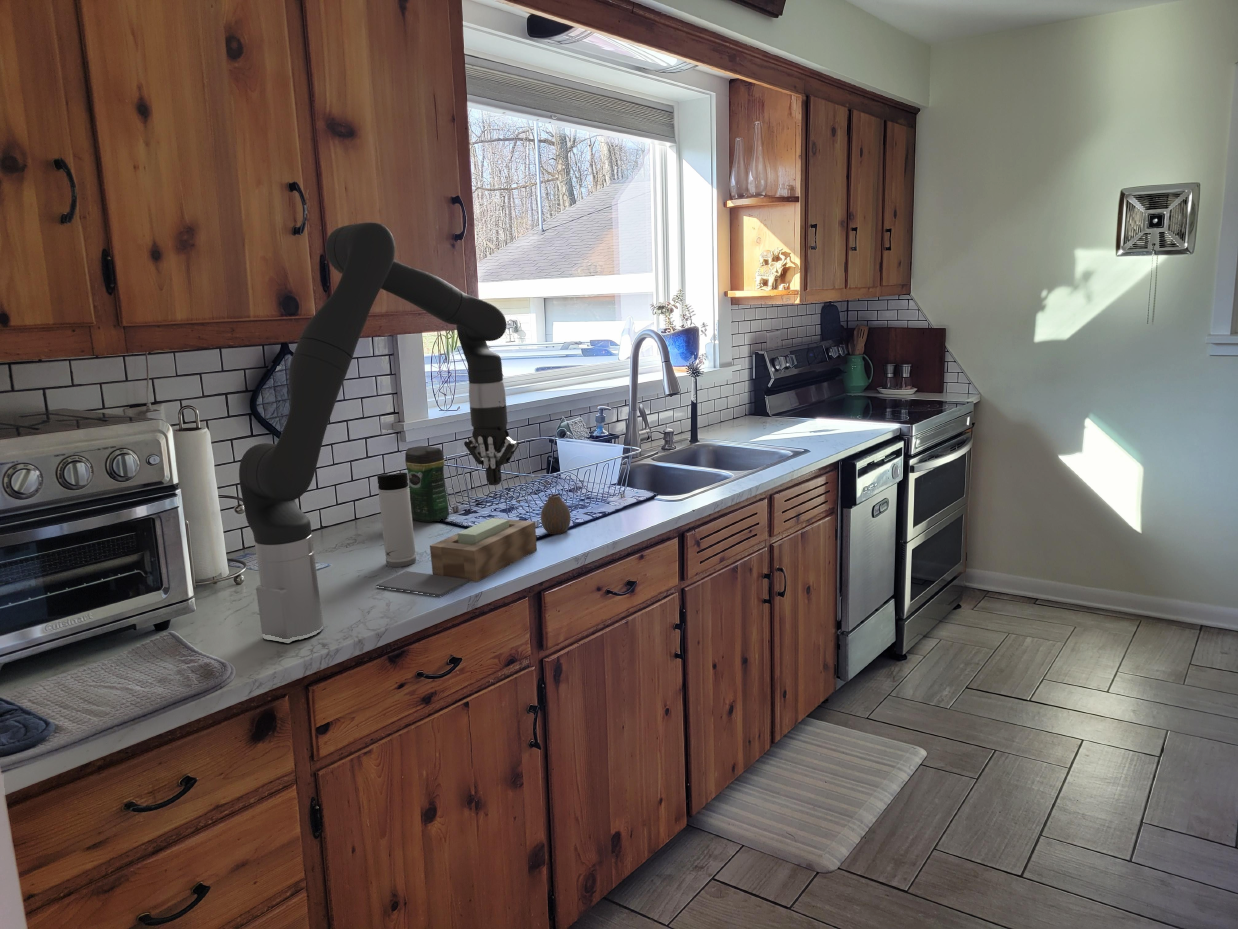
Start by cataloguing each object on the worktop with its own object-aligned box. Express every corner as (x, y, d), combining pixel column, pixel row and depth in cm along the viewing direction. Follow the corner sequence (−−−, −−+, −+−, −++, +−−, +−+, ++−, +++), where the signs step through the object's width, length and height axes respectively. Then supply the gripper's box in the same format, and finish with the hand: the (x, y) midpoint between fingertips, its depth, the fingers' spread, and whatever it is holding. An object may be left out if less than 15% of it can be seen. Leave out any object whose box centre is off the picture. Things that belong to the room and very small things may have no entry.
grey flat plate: (440, 597, 174) (440, 594, 174) (376, 587, 181) (375, 584, 181) (469, 582, 182) (469, 579, 181) (406, 573, 189) (406, 570, 189)
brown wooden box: (476, 582, 181) (474, 550, 180) (432, 576, 186) (429, 545, 185) (537, 550, 200) (534, 521, 199) (495, 545, 205) (493, 517, 204)
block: (476, 553, 186) (475, 535, 185) (459, 551, 188) (457, 533, 188) (510, 537, 197) (508, 519, 196) (493, 536, 199) (491, 518, 198)
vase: (536, 534, 213) (533, 498, 211) (551, 527, 219) (549, 491, 217) (561, 537, 209) (559, 500, 208) (576, 529, 215) (574, 493, 214)
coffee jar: (455, 517, 232) (448, 445, 229) (430, 524, 226) (423, 450, 223) (430, 512, 238) (423, 442, 235) (405, 519, 232) (398, 447, 229)
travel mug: (386, 569, 193) (376, 476, 188) (386, 560, 199) (376, 470, 195) (417, 565, 194) (407, 473, 190) (415, 556, 200) (406, 467, 196)
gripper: (451, 405, 191) (458, 486, 194) (503, 406, 185) (510, 490, 188) (472, 400, 197) (479, 478, 201) (524, 401, 191) (530, 482, 195)
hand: (494, 484), depth 194 cm, fingers closed
